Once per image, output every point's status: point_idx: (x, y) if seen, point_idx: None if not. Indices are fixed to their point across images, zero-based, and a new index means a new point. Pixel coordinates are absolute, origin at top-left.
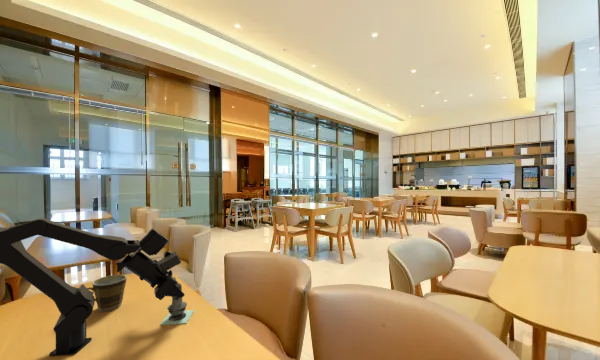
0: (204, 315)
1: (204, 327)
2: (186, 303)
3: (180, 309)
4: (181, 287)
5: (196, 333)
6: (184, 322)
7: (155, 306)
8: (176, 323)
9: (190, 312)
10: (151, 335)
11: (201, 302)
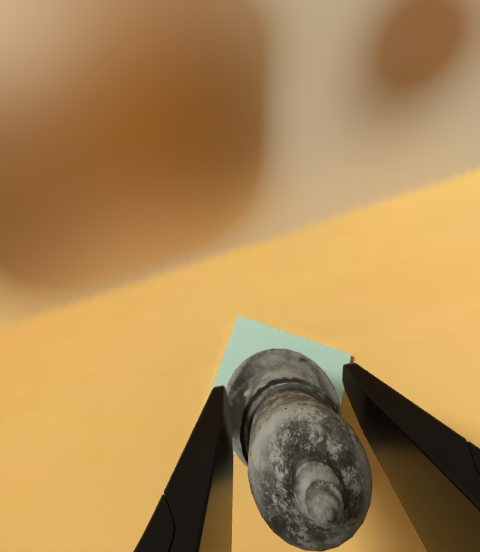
0: (300, 276)
1: (404, 282)
2: (269, 350)
3: (334, 388)
4: (311, 399)
5: (447, 314)
6: (345, 363)
7: (69, 537)
8: (340, 402)
9: (255, 333)
10: (420, 539)
11: (166, 282)
